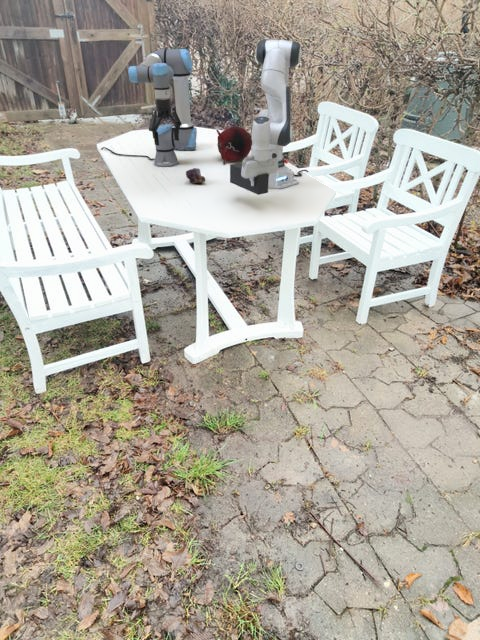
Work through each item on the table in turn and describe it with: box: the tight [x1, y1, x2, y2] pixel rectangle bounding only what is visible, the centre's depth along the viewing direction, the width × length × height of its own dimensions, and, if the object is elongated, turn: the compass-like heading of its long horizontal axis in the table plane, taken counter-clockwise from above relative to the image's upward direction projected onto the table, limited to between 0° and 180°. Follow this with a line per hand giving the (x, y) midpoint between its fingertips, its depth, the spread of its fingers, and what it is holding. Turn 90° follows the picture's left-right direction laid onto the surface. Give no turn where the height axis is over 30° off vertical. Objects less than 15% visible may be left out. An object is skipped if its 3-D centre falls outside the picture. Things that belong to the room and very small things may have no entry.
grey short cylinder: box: [174, 142, 197, 151], centre depth 321 cm, size 17×18×20 cm
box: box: [229, 162, 269, 196], centre depth 224 cm, size 24×6×9 cm, turn 36°
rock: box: [185, 167, 206, 184], centre depth 259 cm, size 12×9×10 cm
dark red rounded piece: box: [216, 126, 252, 165], centre depth 296 cm, size 21×24×25 cm
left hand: (167, 142), depth 238 cm, fingers open, 13 cm apart
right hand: (259, 184), depth 219 cm, fingers closed on box, 6 cm apart
